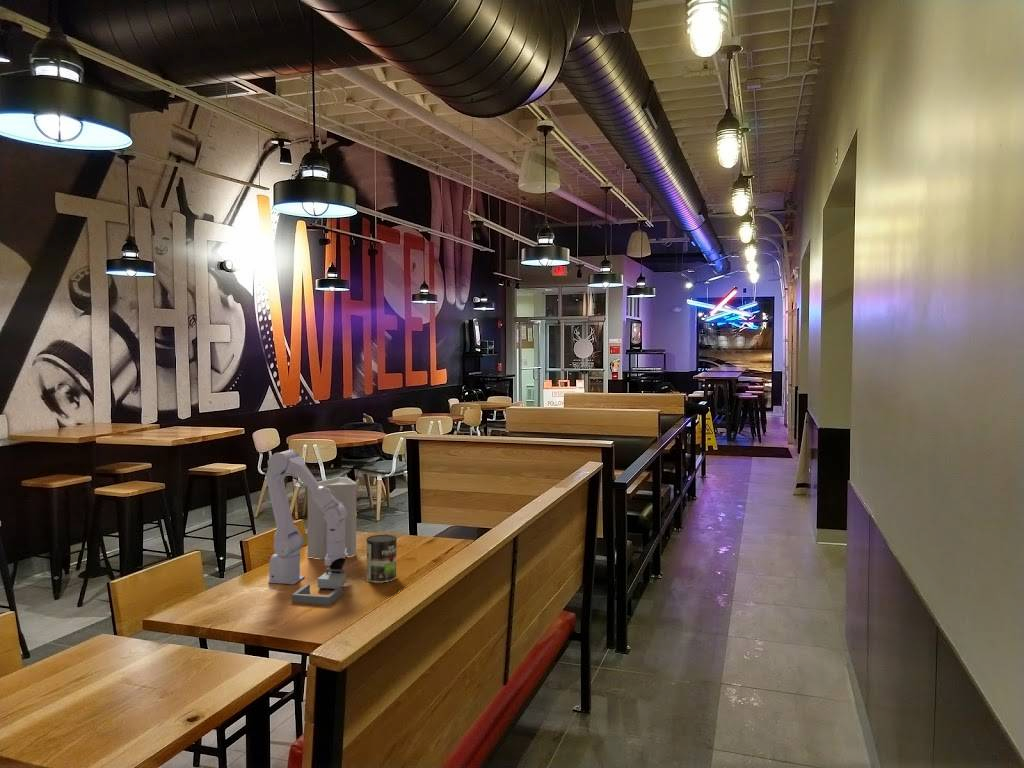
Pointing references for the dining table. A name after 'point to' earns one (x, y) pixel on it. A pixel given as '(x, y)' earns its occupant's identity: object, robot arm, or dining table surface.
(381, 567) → the coffee can
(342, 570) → the box with handle
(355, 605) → the dining table surface
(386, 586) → the dining table surface
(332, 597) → the bay
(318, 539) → the tall upright grey box
